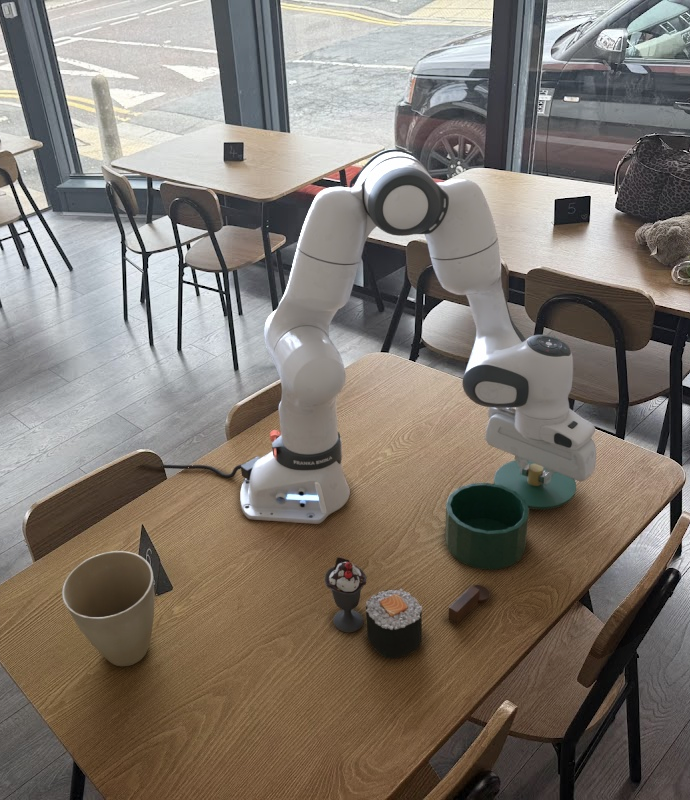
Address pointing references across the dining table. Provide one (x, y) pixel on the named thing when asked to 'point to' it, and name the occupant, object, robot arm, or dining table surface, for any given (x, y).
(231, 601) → the dining table surface
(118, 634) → the plant pot
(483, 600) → the brown bar with disc
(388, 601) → the sushi
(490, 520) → the tin
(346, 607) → the sundae
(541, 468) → the lid
